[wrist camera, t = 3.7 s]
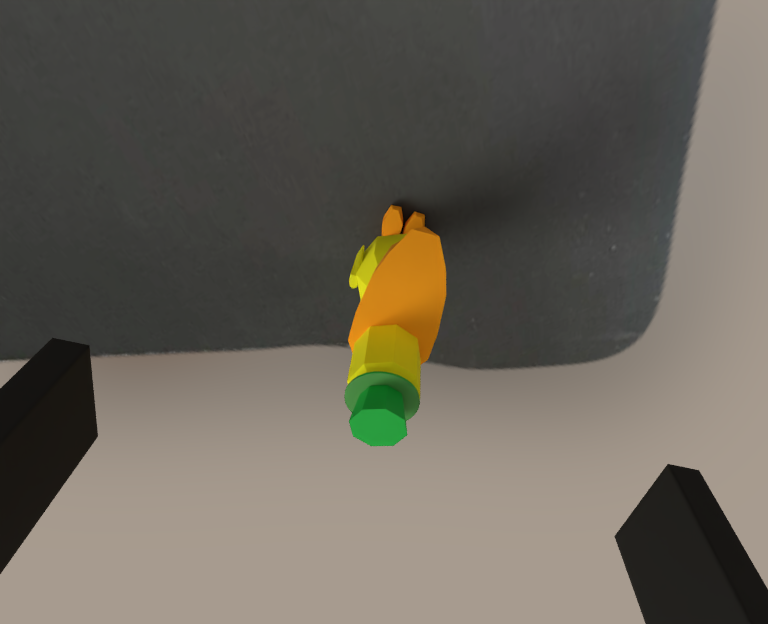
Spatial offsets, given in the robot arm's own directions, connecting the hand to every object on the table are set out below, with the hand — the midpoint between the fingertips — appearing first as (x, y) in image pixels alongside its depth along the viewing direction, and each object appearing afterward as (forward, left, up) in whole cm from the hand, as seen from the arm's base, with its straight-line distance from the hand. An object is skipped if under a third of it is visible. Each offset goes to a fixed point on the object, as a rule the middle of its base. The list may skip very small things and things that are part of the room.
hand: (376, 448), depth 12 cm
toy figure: (0, 0, -14) cm, 14 cm away
